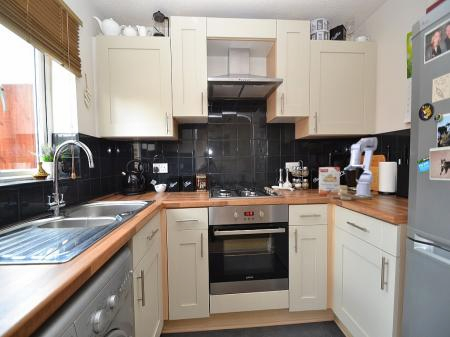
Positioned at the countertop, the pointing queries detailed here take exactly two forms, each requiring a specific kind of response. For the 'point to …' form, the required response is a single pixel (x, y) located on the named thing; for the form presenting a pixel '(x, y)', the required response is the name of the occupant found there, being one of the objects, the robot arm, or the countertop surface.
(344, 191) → the gauge
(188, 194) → the countertop surface
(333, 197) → the board
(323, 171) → the cracker box
